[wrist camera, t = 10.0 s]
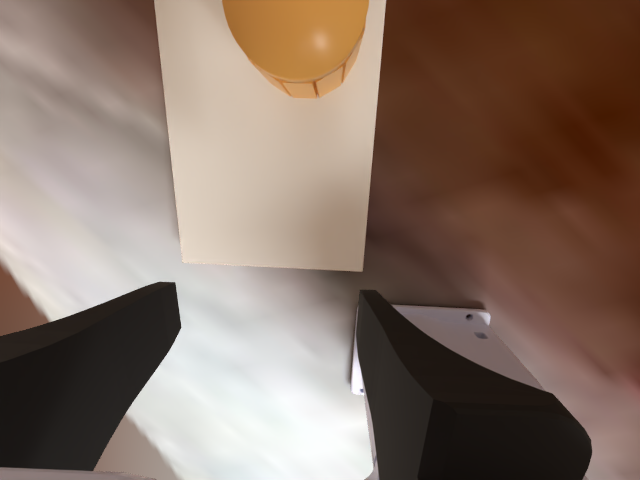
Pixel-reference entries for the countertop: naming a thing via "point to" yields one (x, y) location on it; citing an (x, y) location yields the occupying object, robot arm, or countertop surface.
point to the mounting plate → (265, 149)
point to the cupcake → (299, 40)
